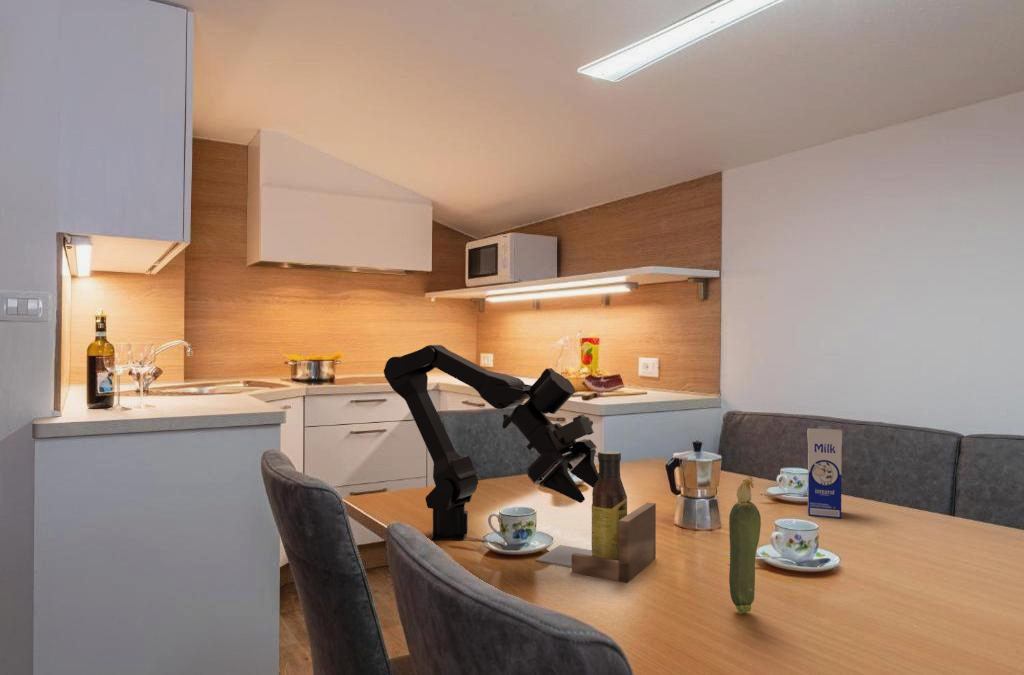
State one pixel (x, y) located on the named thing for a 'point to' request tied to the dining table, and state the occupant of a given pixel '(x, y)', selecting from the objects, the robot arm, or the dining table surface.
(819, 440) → the milk carton
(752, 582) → the vegetable
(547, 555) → the mat
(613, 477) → the sauce bottle
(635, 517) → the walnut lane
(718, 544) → the dining table surface
